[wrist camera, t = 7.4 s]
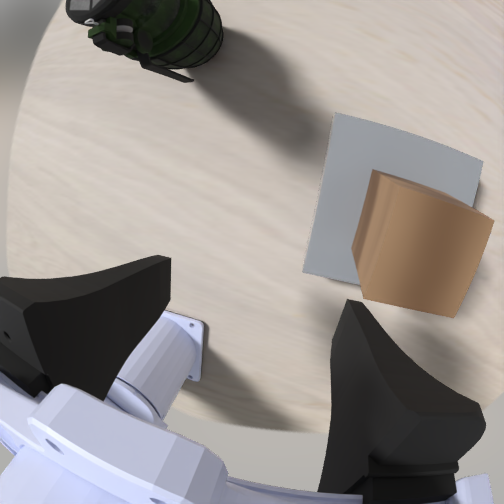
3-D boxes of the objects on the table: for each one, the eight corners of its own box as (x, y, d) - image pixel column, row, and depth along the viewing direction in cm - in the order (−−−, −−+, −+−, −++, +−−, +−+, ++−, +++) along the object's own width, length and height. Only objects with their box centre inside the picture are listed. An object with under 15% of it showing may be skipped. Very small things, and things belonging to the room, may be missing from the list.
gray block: (305, 252, 22) (302, 272, 19) (332, 116, 18) (335, 112, 15) (424, 279, 21) (437, 301, 18) (460, 156, 17) (483, 161, 14)
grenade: (232, 4, 16) (153, -86, 5) (241, 80, 18) (151, 25, 7) (162, 23, 17) (51, -28, 6) (167, 95, 19) (40, 79, 8)
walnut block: (351, 248, 18) (363, 298, 12) (372, 169, 16) (399, 186, 10) (421, 266, 17) (453, 318, 12) (445, 192, 15) (494, 220, 10)
